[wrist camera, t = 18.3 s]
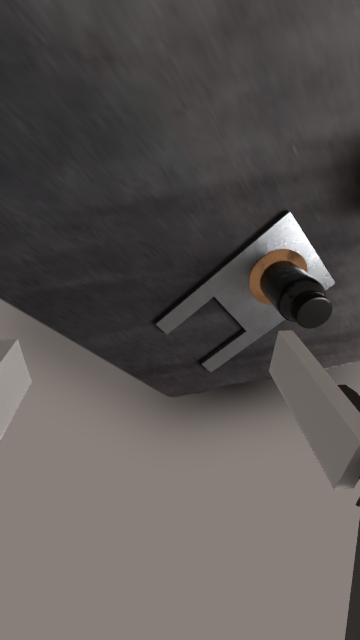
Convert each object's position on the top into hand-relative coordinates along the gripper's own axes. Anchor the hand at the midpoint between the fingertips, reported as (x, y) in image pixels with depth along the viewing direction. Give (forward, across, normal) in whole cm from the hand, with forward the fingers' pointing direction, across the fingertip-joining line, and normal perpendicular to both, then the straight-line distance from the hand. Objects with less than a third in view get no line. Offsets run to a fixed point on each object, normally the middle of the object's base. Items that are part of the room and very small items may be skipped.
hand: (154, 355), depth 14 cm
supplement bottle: (+31, +21, -8) cm, 38 cm away
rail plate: (+32, +16, -13) cm, 38 cm away
